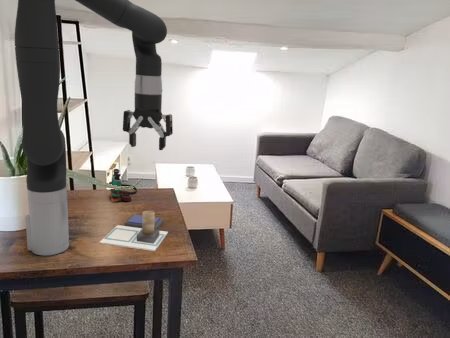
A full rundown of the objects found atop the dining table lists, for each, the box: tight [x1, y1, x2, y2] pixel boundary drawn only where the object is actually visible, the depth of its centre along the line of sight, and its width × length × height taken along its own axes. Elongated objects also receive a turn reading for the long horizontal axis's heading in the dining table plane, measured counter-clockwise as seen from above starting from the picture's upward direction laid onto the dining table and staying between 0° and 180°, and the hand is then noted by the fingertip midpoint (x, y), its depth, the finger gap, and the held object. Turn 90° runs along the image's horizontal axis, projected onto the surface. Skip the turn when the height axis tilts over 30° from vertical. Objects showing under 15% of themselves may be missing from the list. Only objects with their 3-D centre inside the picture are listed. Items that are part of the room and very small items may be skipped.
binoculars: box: [108, 168, 138, 203], centre depth 142 cm, size 9×11×10 cm
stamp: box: [137, 210, 160, 244], centre depth 112 cm, size 5×5×8 cm
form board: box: [99, 224, 169, 252], centre depth 114 cm, size 16×12×1 cm
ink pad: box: [123, 213, 164, 230], centre depth 123 cm, size 10×7×2 cm
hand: (147, 148), depth 115 cm, fingers open, 8 cm apart
